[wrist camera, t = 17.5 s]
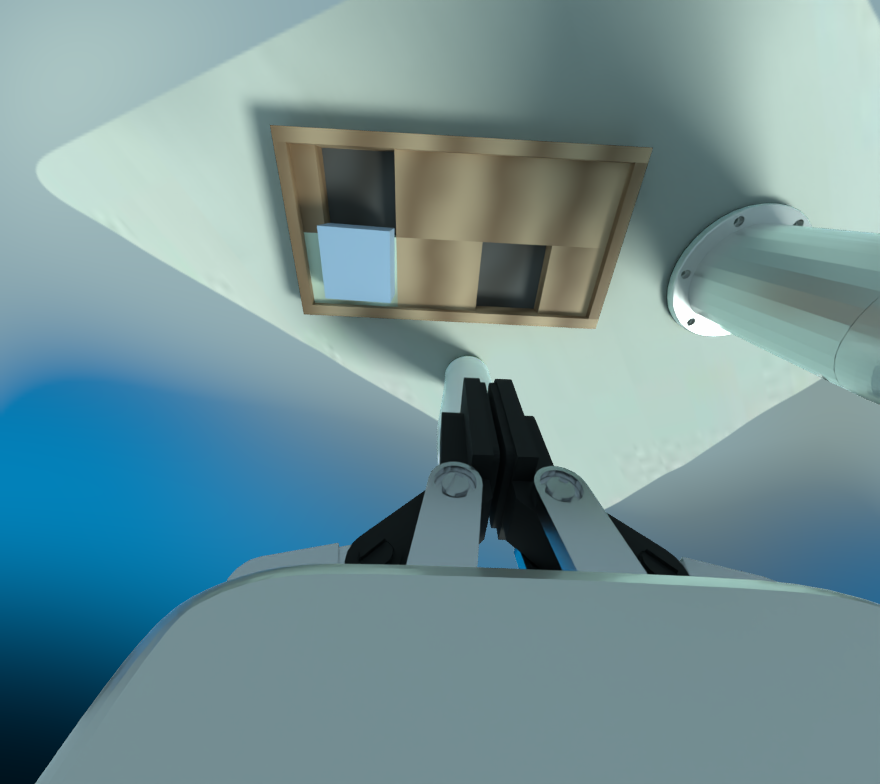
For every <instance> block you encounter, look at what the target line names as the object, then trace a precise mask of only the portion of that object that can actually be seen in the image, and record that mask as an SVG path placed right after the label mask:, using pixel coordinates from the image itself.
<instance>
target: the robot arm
mask: <svg viewBox="0 0 880 784" xmlns="http://www.w3.org/2000/svg"><path fill="white" fill-rule="evenodd" d="M667 301H668V308H669V310H670V313H671V315H672V317H673V318H674V320H675V321H676V322H677V323H678V324H679V325H680V326H682V327H683V328H685V329H686V330H688V331H690V332H692V333H694V334H698V335H702V336H722V335H728V334H733V335H735V336H737V337H740V338H742V339H744V340H746V341H748V342H750V343H752V344H754V345H756V346H758V347H760V348H762V349H764V350H766V351H768V352H770V353H772V354H774V355H776V356H778V357H780V358H782V359H784V360H786V361H788V362H790V363H792V364H795V365H797V366H799V367H801V368H803V369H805V370H807V371H809V372H811V373H813V374H815V375H817V376H819V377H821V378H823V379H825V380H827V381H829V382H831V383H833V384H836V385H838V386H840V387H842V388H844V389H846V390H848V391H850V392H852V393H854V394H856V395H858V396H861V397H863V398H864V399H866V400H869V401H871V402H874V403H876V404H879V405H880V233H869V232H858V231H847V230H836V229H825V228H814V227H812V225H811V223H810V221H809V219H808V218H807V217H806V216H805V215H804V214H803V213H802V212H801V211H800V210H798V209H796V208H794V207H792V206H788V205H783V204H770V203H763V204H756V205H750V206H747V207H744V208H741V209H738V210H735V211H733V212H731V213H729V214H727V215H725V216H723V217H721V218H720V219H718V220H717V221H715V222H714V223H712V224H711V225H710V226H708V227H707V228H706V229H705V230H704V231H702V232H701V233H700V234H699V235H698V236H697V237H696V238H695V239H694V240H693V241H692V242H691V244H690V245H689V246H688V247H687V248H686V249H685V251H684V252H683V254H682V255H681V257H680V259H679V260H678V262H677V263H676V266H675V268H674V270H673V272H672V274H671V278H670V281H669V285H668V293H667ZM488 518H490V525H491V528H497V534H498V539H499V540H506V541H507V542H509V543H510V544H511V545H512V546H513V547H514V555H515V560H516V562H517V565H518V568H519V569H506V568H478V567H477V563H478V548H479V544H480V543H481V542H482V541H483V540H484V537H485V532H486V528H487V524H488ZM35 784H880V605H879V604H876V603H874V602H871V601H868V600H865V599H861V598H857V597H853V596H850V595H845V594H842V593H838V592H834V591H830V590H826V589H820V588H813V587H808V586H803V585H797V584H789V583H780V582H776V581H773V580H771V579H768V578H766V577H762V576H758V575H754V574H750V573H746V572H742V571H737V570H734V569H730V568H725V567H721V566H717V565H713V564H709V563H705V562H701V561H696V560H693V559H689V558H684V557H682V558H681V560H680V561H678V560H677V558H676V557H674V556H673V555H672V554H671V553H669V552H668V551H667V550H665V549H664V548H662V547H660V546H659V545H657V544H656V543H654V542H653V541H651V540H649V539H648V538H646V537H645V536H643V535H641V534H640V533H638V532H636V531H635V530H633V529H632V528H630V527H629V526H627V525H625V524H624V523H622V522H621V521H619V520H617V519H616V518H614V517H613V516H611V515H609V514H607V513H606V512H605V510H604V509H603V507H602V506H601V504H600V503H599V501H598V500H597V499H596V497H595V496H594V494H593V493H592V491H591V490H590V488H589V487H588V485H587V484H586V483H585V481H584V480H583V479H582V478H581V477H580V476H578V475H577V474H576V473H574V472H572V471H570V470H568V469H566V468H562V467H558V466H554V465H553V463H552V460H551V458H550V455H549V453H548V450H547V448H546V445H545V443H544V440H543V438H542V435H541V433H540V430H539V428H538V425H537V423H536V420H535V418H534V417H533V416H524V413H523V411H522V408H521V405H520V402H519V399H518V397H517V394H516V391H515V388H514V385H513V383H512V380H508V379H495V381H494V383H489V385H488V392H487V388H486V384H485V382H480V379H479V378H466V377H464V380H463V389H462V399H461V409H460V413H454V412H442V415H441V430H440V456H439V465H438V466H437V467H435V468H434V469H433V470H432V471H431V474H430V476H429V479H428V482H427V486H426V490H425V491H424V492H422V493H421V494H419V495H418V496H416V497H415V498H414V499H412V500H411V501H409V502H408V503H406V504H405V505H404V506H402V507H401V508H400V509H398V510H397V511H395V512H394V513H392V514H391V515H389V516H388V517H387V518H385V519H384V520H382V521H381V522H380V523H378V524H377V525H375V526H374V527H373V528H371V529H370V530H368V531H367V532H366V533H364V534H363V535H362V536H360V537H359V538H358V539H356V540H355V541H354V542H353V543H352V545H348V546H343V547H339V544H338V543H335V544H330V545H324V546H318V547H313V548H307V549H302V550H295V551H290V552H284V553H278V554H273V555H267V556H261V557H258V558H255V559H252V560H249V561H248V562H246V563H244V564H243V565H241V566H240V567H238V568H237V569H236V570H235V571H234V572H233V574H232V575H231V576H230V577H229V578H228V580H227V582H224V583H222V584H219V585H217V586H214V587H212V588H210V589H207V590H205V591H203V592H202V593H199V594H198V595H196V596H193V597H192V598H190V599H188V600H187V601H185V602H184V603H182V604H181V605H179V606H178V607H176V608H175V609H174V610H172V612H170V613H169V614H168V615H167V616H165V618H163V619H162V620H161V621H160V622H159V623H158V624H157V625H156V626H155V627H154V628H153V629H152V630H151V631H150V632H149V633H148V634H147V635H146V637H145V638H144V639H143V640H142V641H141V642H140V643H139V644H138V645H137V647H136V648H135V649H134V650H133V652H132V653H131V654H130V655H129V656H128V658H127V659H126V660H125V661H124V662H123V664H122V665H121V666H120V668H119V669H118V670H117V671H116V673H115V674H114V675H113V677H112V678H111V679H110V681H109V682H108V683H107V685H106V686H105V687H104V688H103V690H102V691H101V693H100V694H99V695H98V697H97V698H96V699H95V701H94V702H93V704H92V705H91V706H90V707H89V709H88V710H87V712H86V713H85V714H84V716H83V717H82V718H81V720H80V721H79V722H78V724H77V725H76V727H75V728H74V729H73V731H72V732H71V734H70V735H69V736H68V738H67V740H66V741H65V742H64V744H63V745H62V746H61V748H60V749H59V751H58V752H57V754H56V755H55V756H54V758H53V760H52V761H51V762H50V764H49V765H48V767H47V768H46V769H45V771H44V772H43V774H42V775H41V776H40V778H39V779H38V781H37V782H36V783H35Z"/></svg>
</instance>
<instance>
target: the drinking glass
mask: <svg viewBox="0 0 880 784" xmlns="http://www.w3.org/2000/svg"><path fill="white" fill-rule="evenodd" d="M464 377H466V378H479V379H480V382H485V384H486V388H487V392H488V385H489V383H493V382H492V380H491V377H490V374H489V371H488V368H487V366H486V365H485V363H484V362H483V361H481V360H480V359H478V358H476V357H472V356H463V357H459V358H457V359H455V360H454V361H452V362H451V363H450V364H449V366H448V367H447V369H446V372H445V384H444V391H443V397H442V403H441V409H440V414H439V421H438V429H437V460H438V465H439V456H440V430H441V415H442V412H454V413H460V409H461V399H462V389H463V380H464Z"/></svg>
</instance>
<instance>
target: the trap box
mask: <svg viewBox="0 0 880 784" xmlns="http://www.w3.org/2000/svg"><path fill="white" fill-rule="evenodd" d="M270 128H271V134H272V139H273V145H274V150H275V156H276V162H277V167H278V173H279V178H280V184H281V189H282V195H283V201H284V206H285V212H286V217H287V223H288V228H289V234H290V240H291V245H292V251H293V256H294V262H295V267H296V273H297V279H298V284H299V290H300V295H301V301H302V306H303V312H304V314H310V315H330V316H349V317H369V318H389V319H409V320H429V321H448V322H468V323H488V324H508V325H528V326H547V327H567V328H587V329H596V325H597V322H598V319H599V316H600V313H601V310H602V307H603V303H604V300H605V297H606V294H607V291H608V288H609V285H610V281H611V278H612V275H613V272H614V269H615V266H616V262H617V259H618V256H619V253H620V250H621V247H622V244H623V240H624V237H625V234H626V231H627V228H628V225H629V222H630V218H631V215H632V212H633V209H634V206H635V203H636V199H637V196H638V193H639V190H640V187H641V184H642V181H643V177H644V174H645V171H646V168H647V165H648V162H649V159H650V155H651V152H652V149H653V148H650V147H633V146H616V145H599V144H582V143H565V142H548V141H531V140H514V139H497V138H480V137H463V136H446V135H429V134H412V133H395V132H378V131H361V130H344V129H327V128H310V127H293V126H276V125H270ZM326 223H336V224H349V225H362V226H375V227H387V228H394V241H395V295H394V297H393V299H392V301H391V303H382V302H369V301H355V300H341V299H327V298H325V290H324V281H323V273H322V264H321V256H320V248H319V239H318V231H317V226H318V225H322V224H326Z"/></svg>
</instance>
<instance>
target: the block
mask: <svg viewBox="0 0 880 784" xmlns="http://www.w3.org/2000/svg"><path fill="white" fill-rule="evenodd" d="M317 231H318V239H319V248H320V256H321V264H322V273H323V281H324V290H325V298H327V299H341V300H355V301H369V302H382V303H391V301H392V299H393V297H394V295H395V241H394V228H387V227H375V226H362V225H349V224H336V223H326V224H322V225H318V226H317Z"/></svg>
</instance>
